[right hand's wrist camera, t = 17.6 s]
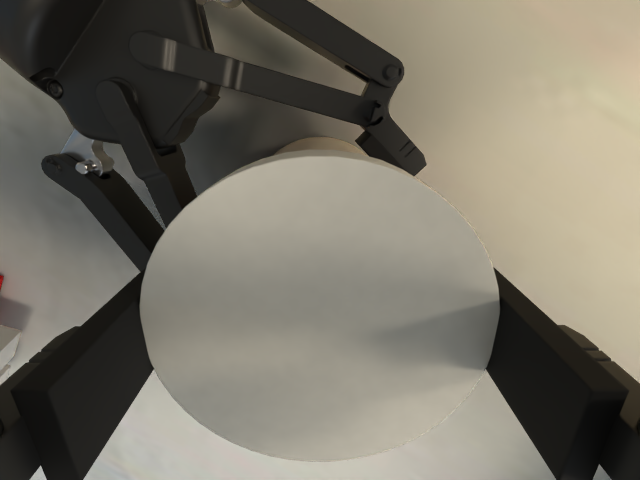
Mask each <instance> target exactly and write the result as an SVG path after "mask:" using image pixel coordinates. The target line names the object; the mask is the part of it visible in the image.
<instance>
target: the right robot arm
mask: <svg viewBox="0 0 640 480" xmlns="http://www.w3.org/2000/svg"><path fill="white" fill-rule="evenodd" d="M493 268H494V267H493ZM145 271H146V268H145V269H144V270H142V271H141V272H140V273H139V274H138V275H137V276H136V277H135V278H134V279H133V280H131V281H130V282H129V283H128V284H127V285H126V286H125V287H124V288H123V289H122V290H120V291H119V292H118V293H117V294H116V295H115V296H114V297H113V298H112V299H110V300H109V301H108V302H107V303H106V304H105V305H104V306H103V307H102V308H101V309H99V310H98V311H97V312H96V313H95V314H94V315H93V316H92V317H91V318H90V319H88V320H87V321H86V322H85V323H84V324H83V325H82V326H75V327H73V328H71V329H70V330H68V331H66V332H64V333H62V334H61V335H59V336H57V337H55V338H54V339H53V340H52V341H51V342H50V343H48V344H47V345H46V346H45V347H44V348H43V349H42V350H41V352H38V353H37V354H36V355H35V356H33V357H32V358H31V359H30V360H29V363H25V364H24V365H23V366H22V367H21V368H20V369H18V370H17V371H16V372H15V373H14V374H13V375H11V376H10V377H9V378H8V379H7V380H6V381H4V382H3V383H2V384H1V385H0V480H29V479H30V478H31V477H32V476H33V474H34V473H35V472H36V471H37V469H38V468H39V467H40V465H41V467H42V469H43V471H44V474H45V476H46V479H47V480H83V479H84V477H85V476H86V474H87V473H88V471H89V470H90V468H91V466H92V465H93V463H94V462H95V460H96V459H97V457H98V456H99V454H100V452H101V451H102V449H103V448H104V446H105V445H106V443H107V441H108V440H109V438H110V437H111V435H112V434H113V432H114V430H115V429H116V427H117V426H118V424H119V423H120V421H121V420H122V418H123V416H124V415H125V413H126V412H127V410H128V409H129V407H130V405H131V404H132V402H133V401H134V399H135V398H136V396H137V395H138V393H139V391H140V390H141V388H142V387H143V385H144V384H145V382H146V380H147V379H148V377H149V376H150V374H151V373H152V371H153V369H154V368H153V366H152V364H151V361H150V359H149V355H148V351H147V346H146V341H145V337H144V332H143V328H142V323H141V318H140V296H141V287H142V282H143V278H144V274H145ZM494 272H495V276H496V280H497V284H498V289H499V302H500V315H499V320H498V325H497V330H496V334H495V339H494V344H493V348H492V353H491V357H490V360H489V362H488V365H487V367H486V370H487V372H488V373H489V375H490V376H491V378H492V379H493V381H494V383H495V384H496V386H497V387H498V389H499V390H500V392H501V394H502V395H503V397H504V398H505V400H506V401H507V403H508V404H509V406H510V408H511V409H512V411H513V412H514V414H515V415H516V417H517V419H518V420H519V422H520V423H521V425H522V426H523V428H524V430H525V431H526V433H527V434H528V436H529V437H530V439H531V440H532V442H533V444H534V445H535V447H536V448H537V450H538V451H539V453H540V455H541V456H542V458H543V459H544V461H545V462H546V464H547V466H548V467H549V469H550V470H551V472H552V473H553V475H554V476H555V478H556V480H593V477H594V475H595V473H596V470H597V468H598V465H599V464H600V465H601V467H602V468H603V469H604V470H605V472H606V473H607V474H608V475H609V477H610V478H611V479H612V480H640V383H638V382H637V381H636V380H635V379H634V378H633V377H631V376H630V375H629V374H628V373H627V372H626V371H624V370H623V369H622V368H621V367H620V366H619V365H617V364H616V363H615V362H614V361H611V359H610V358H609V357H608V356H607V355H606V354H605V353H603V352H602V351H599V348H598V347H596V346H595V345H594V344H593V343H592V342H591V341H589V340H588V339H587V338H586V337H585V336H583V335H582V334H580V333H578V332H576V331H574V330H573V329H571V328H569V327H567V326H565V325H557V324H556V323H554V322H553V321H552V320H551V319H550V318H549V317H548V316H547V315H546V314H545V313H543V312H542V311H541V310H540V309H539V308H538V307H537V306H536V305H535V304H534V303H532V302H531V301H530V300H529V299H528V298H527V297H526V296H525V295H524V294H522V293H521V292H520V291H519V290H518V289H517V288H516V287H515V286H514V285H513V284H511V283H510V282H509V281H508V280H507V279H506V278H505V277H504V276H503V275H502V274H500V273H499V272H498V271H497V270H496V269H495V268H494Z"/></svg>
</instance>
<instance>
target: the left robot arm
mask: <svg viewBox="0 0 640 480" xmlns="http://www.w3.org/2000/svg"><path fill="white" fill-rule="evenodd" d="M208 1H217V2H219V3H220V4H222V5H223V6H225V7H227V8H235V7H237V6H238V5H239V4H240V3H241V2H243V3H244V4H245V5H246V6H247V7H248V8H249V9H250V10H252V11H253V12H254V13H255V14H256V15H258V16H259V17H261V18H262V19H264V20H265V21H267V22H268V23H270V24H272V25H273V26H275V27H277V28H278V29H280V30H281V31H283V32H285V33H286V34H288V35H289V36H291V37H293V38H294V39H296V40H298V41H299V42H301V43H302V44H304V45H306V46H307V47H309V48H311V49H312V50H314V51H315V52H317V53H319V54H320V55H322V56H323V57H325V58H327V59H328V60H330V61H332V62H333V63H335V64H336V65H338V66H340V67H341V68H343V69H345V70H346V71H348V72H349V73H351V74H353V75H354V76H356V77H358V78H359V79H361V80H362V81H364V82H366V83H367V84H366V86H365V88H364V90H363V92H362V95H361V96H358V95H355V94H351V93H348V92H344V91H341V90H338V89H334V88H331V87H327V86H324V85H321V84H317V83H314V82H310V81H307V80H303V79H300V78H297V77H293V76H290V75H286V74H283V73H280V72H276V71H273V70H269V69H266V68H262V67H259V66H256V65H252V64H249V63H245V62H242V61H239V60H236V59H234V58H231V57H228V56H224V55H221V54H217V53H215V52H214V48H213V44H212V40H211V36H210V32H209V28H208V24H207V20H206V15H205V11H204V8H203V5H204V4H205V3H206V2H208ZM0 58H1V59H2V60H3V61H5V62H6V63H7V64H8V65H9V66H11V67H12V68H13V69H14V70H15V71H17V72H18V73H19V74H20V75H21V76H23V77H24V78H25V79H26V80H27V81H29V82H30V83H31V84H33V85H34V86H36V87H37V88H39V89H40V90H42V91H43V92H45V93H46V94H48V95H49V96H50V97H52V98H53V99H54V100H56V101H57V102H58V103H59V105H60V106H61V107H62V108H63V110H64V111H65V113H66V115H67V116H68V118H69V120H70V122H71V124H72V126H73V127H74V130H73V132H72V134H71V135H70V137H69V139H68V141H67V142H66V144H65V146H64V148H63V149H62V151H61V152H60V153H59V154H54V155H49V156H46V157H44V159H43V160H42V163H41V165H42V170H43V171H44V173H45V174H46V175H47V176H48V177H49V178H51V179H52V180H53V181H55V182H56V183H58V184H59V185H61V186H62V187H64V188H65V189H66V190H68V191H69V192H71V193H72V194H74V195H75V196H77V197H78V198H80V199H81V201H82V202H83V203H84V204H85V205H86V207H87V208H88V209H89V210H90V211H91V213H92V214H93V215H94V216H95V217H96V219H97V220H98V221H99V222H100V223H101V225H102V226H103V227H104V228H105V230H106V231H107V232H108V233H109V234H110V236H111V237H112V238H113V239H114V240H115V242H116V243H117V244H118V245H119V246H120V248H121V249H122V250H123V251H124V252H125V254H126V255H127V256H128V257H129V258H130V260H131V261H132V262H133V263H134V264H135V266H136V267H137V268H138V269H139V270H140V272H141V271H142V270H144V269H145V268H146V267H147V263H148V261H149V259H150V257H151V255H152V252H153V250H154V248H155V246H156V244H157V242H158V241H159V239H160V238H161V236H162V235H163V233H164V230H163V228H162V227H161V226H160V224H159V223H158V222H157V220H156V219H155V218H154V216H153V215H152V214H151V213H150V211H149V210H148V209H147V207H146V206H145V205H144V203H143V202H142V201H141V200H140V198H139V197H138V196H137V194H136V193H135V192H134V190H133V189H132V188H131V186H130V185H129V184H128V183H127V182H126V181H125V179H124V178H123V177H122V176H121V175H120V174H119V173H118V172H116V171H115V170H114V169H113V168H112V167H113V166H114V160H113V159H112V158H111V157H108V156H107V155H106V153H105V152H104V150H103V142H109V143H116V144H121V145H122V147H123V149H124V152H125V154H126V156H127V158H128V160H129V162H130V164H131V166H132V169H133V171H134V173H135V174H136V176H137V177H138V178H140V179H142V180H143V181H144V182H145V184H146V186H147V188H148V190H149V192H150V194H151V197H152V199H153V201H154V203H155V205H156V207H157V209H158V212H159V214H160V216H161V218H162V220H163V222H164V225H165V227H166V228H167V227H168V225H169V224H170V223H171V222H172V221H173V220H174V218H175V217H176V216H177V215H178V214H179V213H180V212H181V211H182V210H183V209H184V207H185V206H187V205H188V204H189V203H190V202H191V201H193V200H194V199H195V198H196V197H197V195H196V192H195V190H194V188H193V185H192V183H191V180H190V178H189V176H188V173H187V171H186V168H185V157H184V154H183V152H182V149H181V147H180V145H179V143H182V142H185V140H186V139H187V138H188V137H189V136H190V134H191V133H192V132H193V130H194V127H195V125H196V123H197V120H198V118H199V117H200V116H201V115H203V114H204V113H206V112H207V111H209V110H210V109H212V107H213V106H214V105H215V104H216V102H217V101H218V100H219V99H220V97H219V96H218V94H219V91H220V86H223V87H227V88H230V89H234V90H238V91H241V92H245V93H248V94H252V95H255V96H259V97H262V98H266V99H269V100H273V101H276V102H280V103H283V104H287V105H290V106H294V107H297V108H301V109H304V110H308V111H312V112H315V113H319V114H322V115H326V116H329V117H333V118H336V119H340V120H343V121H347V122H350V123H354V124H357V125H360V126H361V127H362V128H363V129H364V130H365V131H364V132H363V133H362V134H361V135H360V136H359V137H358V138H357V139H356V140H355V142H356V143H357V144H358V145H359V146H360V147H361V148H362V149H363V150H364V151H365V152H366V153H367V154H368V155H369V157H373V158H376V159H380V160H382V161H385V162H387V163H389V164H391V165H394V166H396V167H398V168H400V169H403V170H404V171H406V172H407V173H409V174H411V175H412V176H415V175H416V174H417V173H418V172H419V171H420V170H421V169H423V168H424V167H425V166H426V161H425V158H424V155H423V154H422V153H421V151H420V150H419V149H418V148H417V147H416V146H415V145H414V144H413V142H412V141H411V140H410V139H409V138H408V137H407V136H406V135H405V133H404V132H403V131H402V130H401V129H400V128H399V127H398V125H397V124H396V123H395V122H394V121H393V120H392V118H391V117H390V115H389V111H388V106H389V102H390V99H391V97H392V95H393V93H394V91H395V89H396V87H397V85H398V84H399V83H400V81H401V80H402V78H403V75H404V67H403V64H402V62H401V61H400V60H399V59H397V58H396V57H394V56H393V55H391V54H390V53H388V52H387V51H385V50H383V49H382V48H380V47H379V46H377V45H376V44H374V43H373V42H371V41H369V40H368V39H366V38H365V37H363V36H362V35H360V34H359V33H357V32H355V31H354V30H352V29H351V28H349V27H348V26H346V25H345V24H343V23H341V22H340V21H338V20H337V19H335V18H334V17H332V16H331V15H329V14H327V13H326V12H324V11H323V10H321V9H320V8H318V7H317V6H315V5H313V4H312V3H310V2H309V1H307V0H0Z"/></svg>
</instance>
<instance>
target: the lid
mask: <svg viewBox="0 0 640 480" xmlns="http://www.w3.org/2000/svg"><path fill="white" fill-rule="evenodd" d="M499 315H500V302H499V289H498V284H497V280H496V276H495V272H494V268H493V265H492V263H491V260H490V258H489V256H488V253H487V251H486V249H485V246H484V245H483V243H482V242H481V240H480V238H479V237H478V235H477V234H476V232H475V230H474V229H473V227H472V226H471V225H470V224H469V223H468V221H467V220H466V219H465V218H464V217H463V216H462V214H461V213H460V212H459V211H458V210H457V209H456V208H455V207H454V206H453V205H452V204H450V203H449V202H448V201H447V200H446V199H445V198H443V197H442V196H441V195H440V194H439V193H437V192H436V191H435V190H433V189H432V188H430V187H429V186H427V185H426V184H425V183H423V182H422V181H420V180H419V179H417V178H415V177H414V176H412V175H411V174H409V173H407V172H406V171H404V170H403V169H400V168H398V167H396V166H394V165H391V164H389V163H387V162H385V161H382V160H380V159H376V158H373V157H369V156H366V155H362V154H359V153H353V152H346V151H339V150H311V149H309V150H301V151H293V152H285V153H282V154H278V155H274V156H270V157H266V158H263V159H260V160H258V161H255V162H253V163H251V164H248V165H246V166H243V167H241V168H239V169H237V170H236V171H234V172H232V173H231V174H229V175H227V176H226V177H224V178H222V179H221V180H219V181H218V182H216V183H215V184H213V185H212V186H211V187H209V188H208V189H206V190H205V191H204V192H203V193H201V194H200V195H199V196H198V197H196V198H195V199H194V200H193V201H191V202H190V203H189V204H188V205H187V206H185V207H184V209H183V210H182V211H181V212H180V213H179V214H178V215H177V216H176V217H175V218H174V220H173V221H172V222H171V223H170V224H169V225H168V227H167V228H166V230H165V231H164V233H163V235H162V236H161V238H160V239H159V241H158V242H157V244H156V246H155V248H154V250H153V252H152V255H151V257H150V259H149V261H148V263H147V267H146V271H145V274H144V278H143V282H142V287H141V296H140V318H141V323H142V328H143V332H144V337H145V341H146V346H147V351H148V355H149V359H150V361H151V364H152V366H153V368H154V370H155V371H156V373H157V375H158V377H159V379H160V381H161V382H162V384H163V385H164V386H165V388H166V389H167V390H168V392H169V393H170V395H171V396H172V397H173V398H174V399H175V400H176V401H177V403H178V404H179V405H180V406H181V407H182V408H183V409H184V410H185V411H186V412H187V413H188V414H190V415H191V416H192V417H193V418H194V419H195V420H197V421H198V422H199V423H200V424H202V425H203V426H205V427H206V428H208V429H209V430H211V431H212V432H214V433H215V434H217V435H219V436H221V437H222V438H224V439H226V440H228V441H230V442H232V443H234V444H237V445H239V446H241V447H244V448H246V449H249V450H251V451H255V452H258V453H262V454H265V455H268V456H273V457H278V458H283V459H288V460H297V461H307V462H331V461H343V460H351V459H356V458H362V457H367V456H371V455H374V454H378V453H381V452H385V451H388V450H390V449H393V448H396V447H398V446H401V445H403V444H405V443H407V442H409V441H411V440H413V439H415V438H417V437H419V436H421V435H423V434H424V433H426V432H427V431H429V430H430V429H432V428H433V427H435V426H436V425H438V424H439V423H440V422H441V421H443V420H444V419H445V418H446V417H448V416H449V415H450V414H451V413H452V412H453V411H454V410H455V409H456V408H457V407H458V406H459V405H460V404H461V403H462V402H463V401H464V400H465V399H466V398H467V396H468V395H469V394H470V392H471V391H472V390H473V388H474V387H475V386H476V384H477V383H478V381H479V379H480V378H481V376H482V374H483V372H484V371H485V369H486V367H487V365H488V362H489V360H490V357H491V353H492V348H493V344H494V339H495V334H496V330H497V325H498V320H499Z"/></svg>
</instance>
